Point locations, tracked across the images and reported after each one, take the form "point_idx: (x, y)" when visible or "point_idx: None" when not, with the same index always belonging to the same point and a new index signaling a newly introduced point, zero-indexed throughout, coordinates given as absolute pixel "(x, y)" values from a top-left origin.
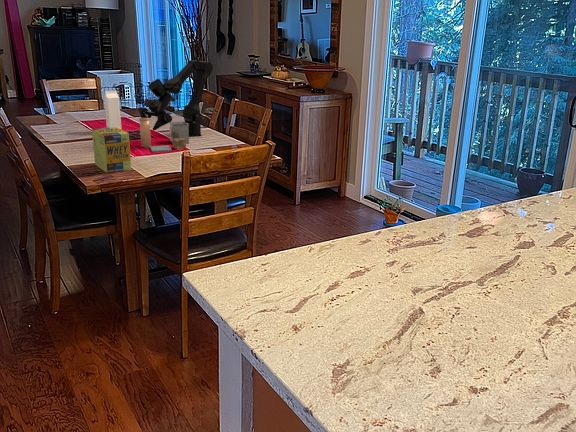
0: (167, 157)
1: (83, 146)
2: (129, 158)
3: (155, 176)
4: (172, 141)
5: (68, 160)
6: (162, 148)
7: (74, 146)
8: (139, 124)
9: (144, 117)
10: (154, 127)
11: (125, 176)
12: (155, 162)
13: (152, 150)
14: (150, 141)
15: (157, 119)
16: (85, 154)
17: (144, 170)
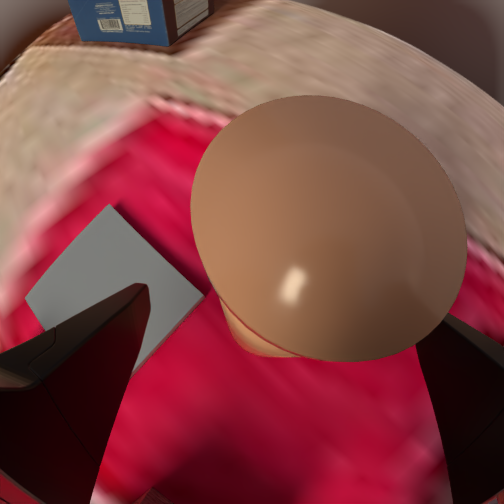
0: (11, 188)
1: (474, 137)
2: (74, 12)
3: (12, 62)
4: (153, 499)
5: (320, 14)
6: (84, 293)
7: (484, 127)
8: (452, 315)
9: (428, 280)
10: (111, 299)
11: None
12: (35, 113)
13: (111, 210)
14: (229, 329)
15: (25, 381)
16: (357, 57)
17: (45, 59)
